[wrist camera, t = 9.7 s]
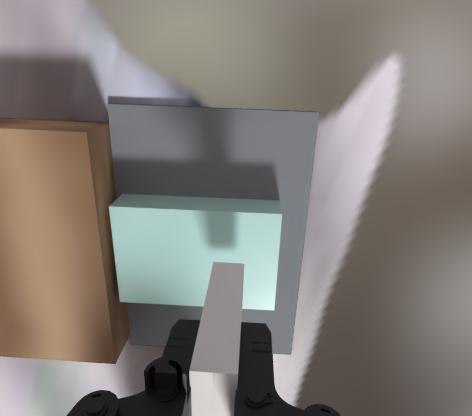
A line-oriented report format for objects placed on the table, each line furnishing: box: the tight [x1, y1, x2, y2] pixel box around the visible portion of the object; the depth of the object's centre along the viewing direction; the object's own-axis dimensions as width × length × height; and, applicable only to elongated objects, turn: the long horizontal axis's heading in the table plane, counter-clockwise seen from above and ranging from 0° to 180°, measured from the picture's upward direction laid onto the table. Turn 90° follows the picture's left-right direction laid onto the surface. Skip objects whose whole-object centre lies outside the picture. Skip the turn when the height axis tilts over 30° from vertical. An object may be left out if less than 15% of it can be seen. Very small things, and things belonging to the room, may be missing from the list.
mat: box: [107, 104, 319, 355], centre depth 21 cm, size 11×16×1 cm
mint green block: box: [109, 194, 282, 310], centre depth 20 cm, size 9×6×2 cm, turn 89°
